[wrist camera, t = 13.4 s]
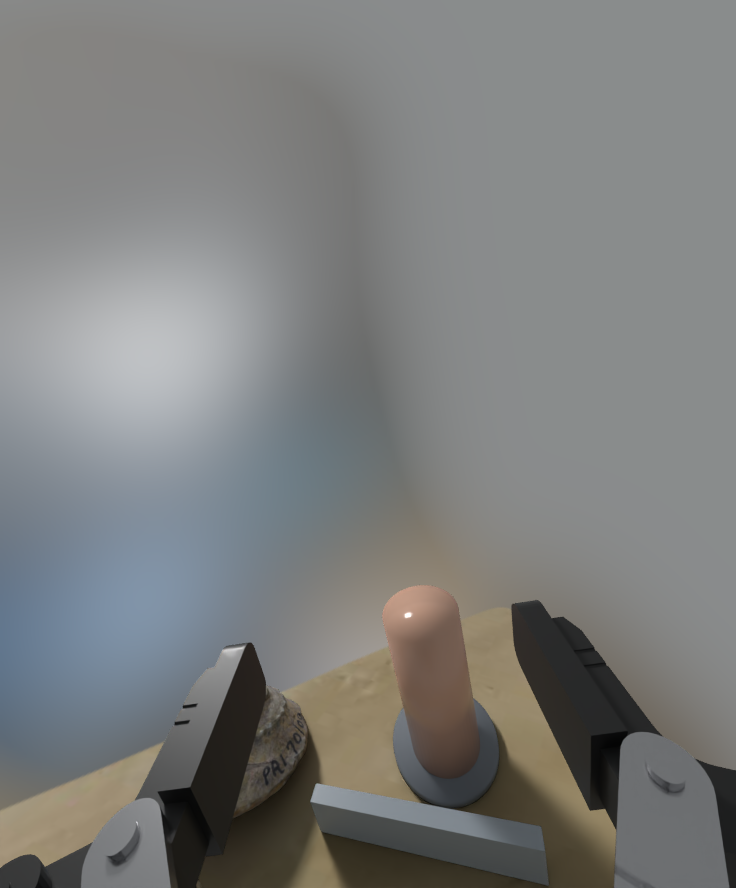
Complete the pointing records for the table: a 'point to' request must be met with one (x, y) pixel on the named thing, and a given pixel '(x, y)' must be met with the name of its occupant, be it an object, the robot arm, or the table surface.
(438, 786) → the slate coaster
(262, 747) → the fossilized seashell
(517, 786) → the table surface
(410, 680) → the peach rounded cylinder
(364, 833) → the gray rectangular bar
